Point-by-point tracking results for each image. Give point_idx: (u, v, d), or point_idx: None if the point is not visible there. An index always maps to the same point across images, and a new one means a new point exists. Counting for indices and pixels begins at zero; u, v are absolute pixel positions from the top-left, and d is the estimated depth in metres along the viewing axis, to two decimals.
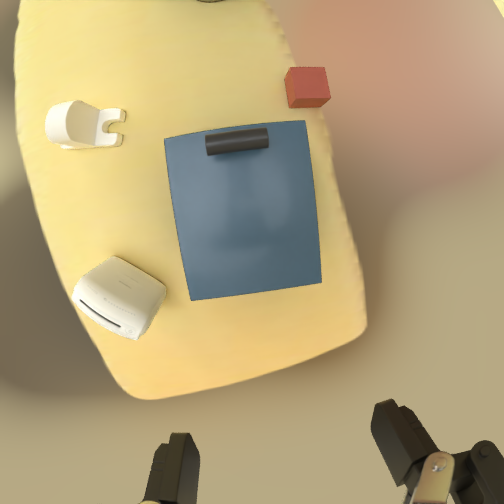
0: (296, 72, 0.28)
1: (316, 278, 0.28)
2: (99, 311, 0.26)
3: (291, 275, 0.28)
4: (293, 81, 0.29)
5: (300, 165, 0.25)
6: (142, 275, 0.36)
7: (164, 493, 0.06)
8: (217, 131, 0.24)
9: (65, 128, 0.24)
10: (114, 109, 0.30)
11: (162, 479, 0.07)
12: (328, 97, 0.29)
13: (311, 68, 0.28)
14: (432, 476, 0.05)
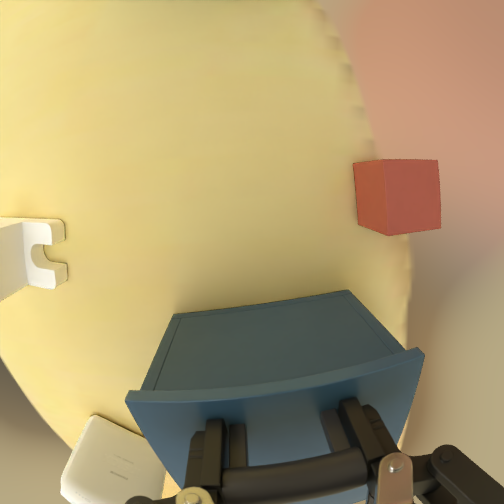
0: (393, 173, 0.14)
1: None
2: None
3: (338, 503, 0.14)
4: (386, 195, 0.14)
5: (391, 422, 0.11)
6: (136, 445, 0.22)
7: (206, 478, 0.07)
8: (241, 402, 0.10)
9: None
10: (42, 225, 0.16)
11: (202, 465, 0.07)
12: (437, 227, 0.15)
13: (418, 163, 0.14)
14: (386, 477, 0.06)
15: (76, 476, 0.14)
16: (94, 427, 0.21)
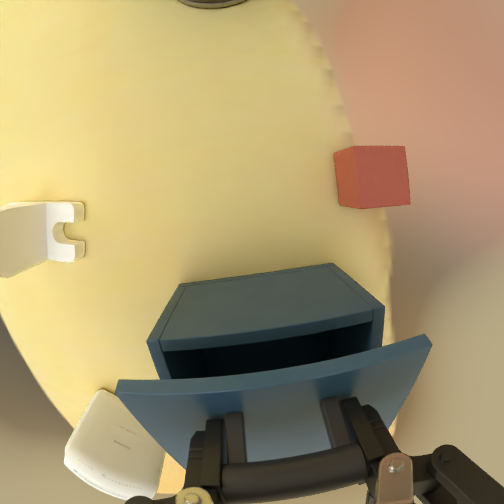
0: (363, 157, 0.18)
1: None
2: (100, 487, 0.15)
3: None
4: (358, 175, 0.18)
5: (390, 404, 0.12)
6: None
7: (206, 478, 0.07)
8: (238, 394, 0.10)
9: None
10: (65, 205, 0.20)
11: (202, 465, 0.07)
12: (407, 203, 0.18)
13: (386, 148, 0.17)
14: (386, 477, 0.06)
15: (80, 444, 0.17)
16: (100, 400, 0.24)
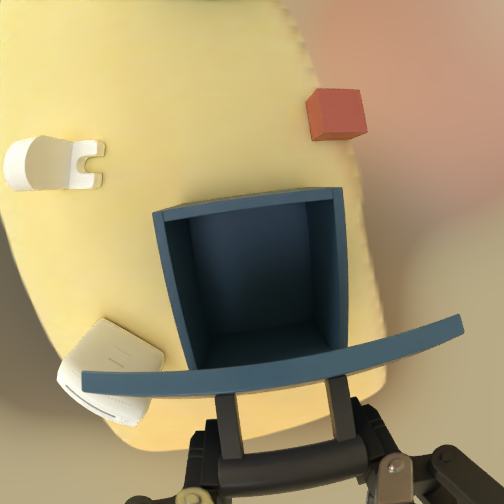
0: (324, 96, 0.22)
1: None
2: (88, 402, 0.19)
3: None
4: (321, 108, 0.22)
5: None
6: (135, 344, 0.29)
7: (206, 478, 0.07)
8: (230, 393, 0.07)
9: (25, 177, 0.17)
10: (90, 142, 0.24)
11: (202, 465, 0.07)
12: (364, 131, 0.23)
13: (343, 91, 0.22)
14: (386, 477, 0.06)
15: (76, 357, 0.22)
16: (100, 325, 0.28)
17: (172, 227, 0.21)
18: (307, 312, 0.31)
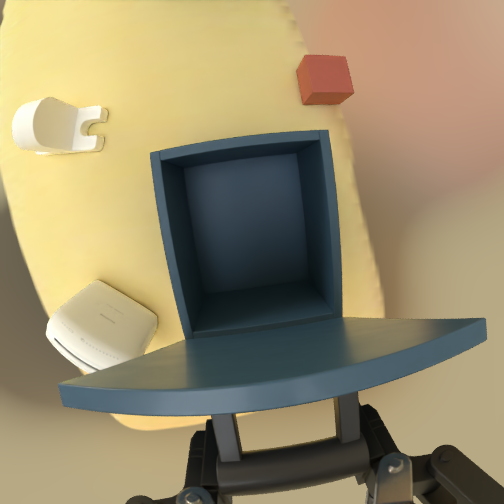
0: (312, 61, 0.22)
1: None
2: (76, 354, 0.20)
3: None
4: (309, 71, 0.23)
5: None
6: (129, 304, 0.30)
7: (206, 478, 0.07)
8: (227, 411, 0.06)
9: (32, 132, 0.18)
10: (94, 107, 0.24)
11: (203, 464, 0.07)
12: (351, 92, 0.23)
13: (330, 57, 0.22)
14: (386, 477, 0.06)
15: (67, 310, 0.22)
16: (94, 285, 0.29)
17: (168, 170, 0.21)
18: (302, 270, 0.31)
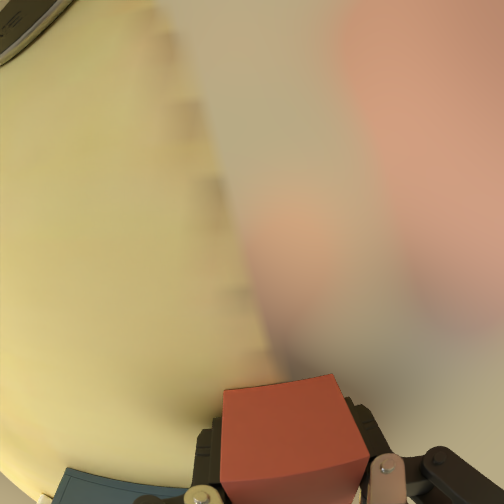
0: (246, 491, 0.06)
1: None
2: None
3: None
4: None
5: None
6: None
7: (214, 476, 0.07)
8: None
9: None
10: None
11: (210, 462, 0.08)
12: None
13: (312, 474, 0.06)
14: (377, 477, 0.06)
15: None
16: None
17: None
18: None
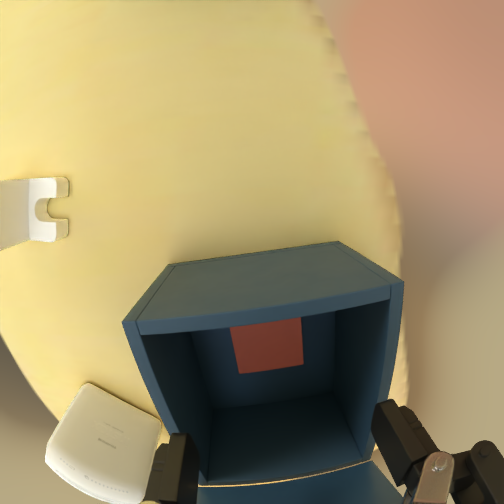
0: (240, 328, 0.17)
1: None
2: (83, 488, 0.13)
3: None
4: (234, 345, 0.17)
5: None
6: (127, 414, 0.23)
7: (164, 493, 0.06)
8: None
9: None
10: (48, 180, 0.17)
11: (162, 479, 0.07)
12: (299, 363, 0.18)
13: None
14: (432, 476, 0.05)
15: (62, 441, 0.15)
16: (85, 394, 0.22)
17: None
18: (326, 384, 0.24)
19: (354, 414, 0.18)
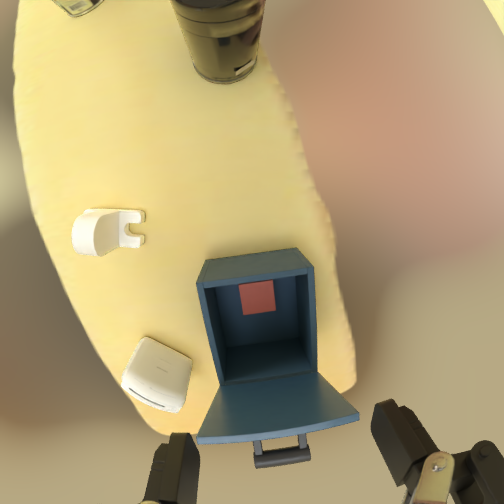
0: (244, 290, 0.37)
1: None
2: (147, 398, 0.32)
3: None
4: (241, 299, 0.37)
5: None
6: (172, 354, 0.42)
7: (164, 493, 0.06)
8: (260, 439, 0.19)
9: (94, 250, 0.30)
10: (134, 212, 0.37)
11: (162, 479, 0.07)
12: (273, 309, 0.37)
13: (259, 283, 0.36)
14: (432, 476, 0.05)
15: (135, 368, 0.34)
16: (145, 342, 0.41)
17: (206, 287, 0.34)
18: (294, 331, 0.43)
19: (306, 343, 0.37)
